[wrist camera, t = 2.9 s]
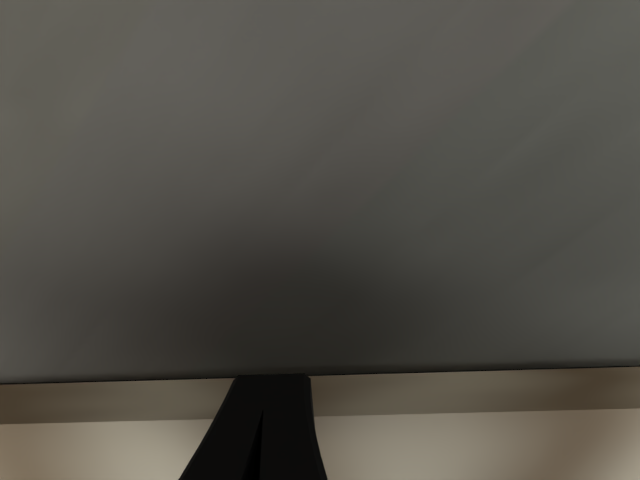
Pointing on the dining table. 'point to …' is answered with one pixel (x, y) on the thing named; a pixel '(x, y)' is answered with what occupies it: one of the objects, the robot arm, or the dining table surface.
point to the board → (342, 426)
